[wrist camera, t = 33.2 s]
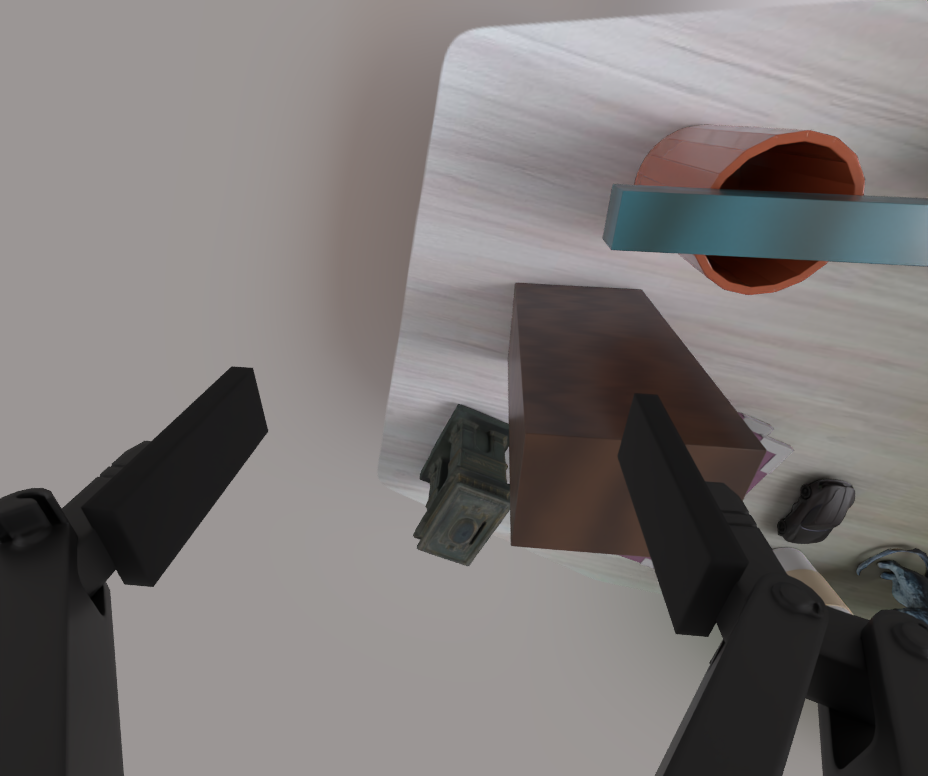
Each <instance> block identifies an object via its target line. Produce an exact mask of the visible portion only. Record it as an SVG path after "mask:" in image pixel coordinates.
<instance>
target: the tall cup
mask: <svg viewBox="0 0 928 776" xmlns="http://www.w3.org/2000/svg"><path fill="white" fill-rule="evenodd" d="M634 185H645V186H667V187H689V188H711V189H732V190H754V191H776V192H798V193H820V194H841V195H863V196H864V187H865V178H864V175H863V172H862V169H861V166H860V163H859V160H858V157H857V155H856V154H855V153H854V152H853V151H852V150H851V149H850V148H849V147H847V146H846V145H845V144H844V143H843V142H842V141H841V140H840V139H839V138H837V137H835V136H831V135H827V134H823V133H819V132H815V131H811V130H798V129H780V128H762V127H744V126H726V125H709V124H705V125H695V126H689V127H686V128H682V129H680V130H677V131H675V132H673V133H672V134H670V135H668V136H667V137H665V138H664V139H662V140H661V141H660V142H659V143H658V144H657V145H655V147H654V148H653V149H652V150H651V151H650V152H649V153H648V155H647V156H646V158H645V159H644V161H643V162H642V164H641V166H640V168H639V171H638V173H637V176H636V179H635V183H634ZM678 254H679V255H680V256H681V257H683V258H684V259H685V260H686V261H687V262H689V263H690V264H691V265H692V266H694V267H695V268H696V269H697V270H699V271H700V272H701V273H702V274H704V275H705V276H706V277H707V278H709V279H710V280H711V281H713V282H714V283H716V284H717V285H718V286H720V287H721V288H722V289H724V290H728V291H732V292H736V293H741V294H745V295H753V294H763V293H772V292H777V291H779V290H782V289H784V288H787V287H789V286H792V285H794V284H797V283H799V282H802V281H803V280H805V279H806V278H808V277H809V276H810V275H812V274H813V273H814V272H816V271H817V270H819V269H820V268H821V267H823V266H824V265H826V264H827V263H828V262H829V261H813V260H794V259H775V258H756V257H737V256H718V255H699V254H680V253H678Z"/></svg>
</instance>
